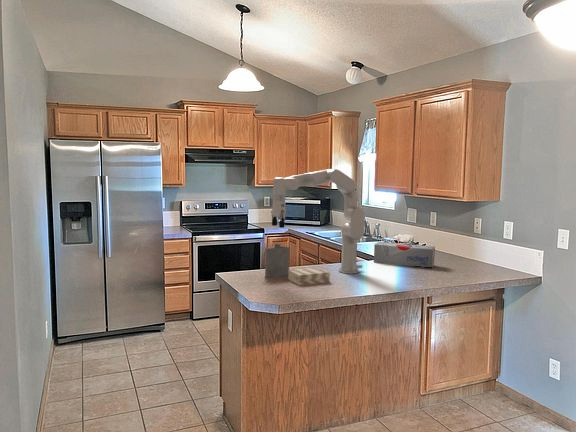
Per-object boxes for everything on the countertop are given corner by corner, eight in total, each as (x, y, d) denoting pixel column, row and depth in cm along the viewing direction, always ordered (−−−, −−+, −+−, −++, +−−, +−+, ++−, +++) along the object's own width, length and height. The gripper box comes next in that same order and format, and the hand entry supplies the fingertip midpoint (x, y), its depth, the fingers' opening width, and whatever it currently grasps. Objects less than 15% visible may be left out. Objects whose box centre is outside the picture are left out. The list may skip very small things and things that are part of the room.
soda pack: (434, 265, 332) (435, 246, 330) (432, 269, 320) (433, 249, 319) (377, 259, 348) (378, 240, 346) (372, 262, 336) (373, 243, 335)
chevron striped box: (317, 277, 289) (318, 267, 288) (329, 282, 276) (329, 272, 276) (288, 279, 280) (288, 269, 280) (298, 285, 268) (299, 275, 267)
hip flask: (266, 277, 283) (267, 244, 281) (263, 276, 286) (264, 243, 284) (289, 275, 291) (290, 242, 288) (286, 273, 294) (287, 241, 292)
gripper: (291, 199, 277) (290, 228, 279) (278, 197, 293) (277, 224, 294) (279, 199, 274) (278, 228, 276) (267, 197, 289) (266, 224, 291)
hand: (278, 226), depth 285 cm, fingers open, 9 cm apart
